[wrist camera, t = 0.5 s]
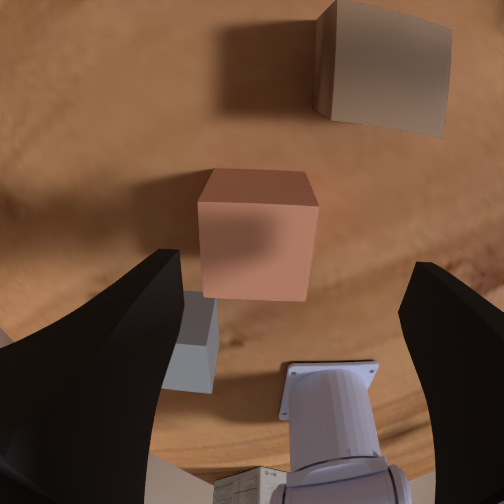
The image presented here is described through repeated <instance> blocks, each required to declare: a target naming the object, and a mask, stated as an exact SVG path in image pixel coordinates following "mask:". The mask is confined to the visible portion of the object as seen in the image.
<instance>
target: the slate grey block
mask: <svg viewBox="0 0 504 504" xmlns="http://www.w3.org/2000/svg"><path fill="white" fill-rule="evenodd" d="M183 293H184V302H185V307H184V312H183V317H182V322H181V327H180V332H179V336H178V339H177V342H176V345H175V348H174V351H173V354H172V357H171V360H170V363H169V366H168V369H167V372H166V375H165V378H164V381H163V385H162V388H163V389H171V390H179V391H189V392H198V393H210V394H212V390H213V382H214V375H215V368H216V361H217V355H218V348H219V329H218V312H217V298H207V297H204V296H203V292H196V291H183Z"/></svg>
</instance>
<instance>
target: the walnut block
mask: <svg viewBox="0 0 504 504" xmlns="http://www.w3.org/2000/svg"><path fill="white" fill-rule="evenodd" d="M451 42H452V30H451V29H449V28H446V27H443V26H441V25H438V24H435V23H432V22H429V21H426V20H423V19H420V18H417V17H414V16H410V15H407V14H404V13H400V12H396V11H393V10H389V9H385V8H381V7H377V6H372V5H368V4H363V3H358V2H353V1H348V0H335V1H334V2H333V3H332V4H331V5H330V6H329V7H328V8H327V9H326V10H325V11H324V12H323V13H322V14H321V16H320V17H319V18H318V19H317V20H316V39H315V62H314V82H313V99H312V109H314V110H315V111H317V112H319V113H320V114H322V115H323V116H325V117H326V118H328V119H330V120H331V121H340V122H349V123H356V124H364V125H371V126H377V127H384V128H390V129H396V130H401V131H407V132H412V133H417V134H422V135H427V136H431V137H436V138H440V139H442V137H443V131H444V124H445V116H446V109H447V100H448V90H449V79H450V65H451Z"/></svg>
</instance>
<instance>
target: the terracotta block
mask: <svg viewBox="0 0 504 504" xmlns="http://www.w3.org/2000/svg"><path fill="white" fill-rule="evenodd" d="M197 203H198V223H199V240H200V256H201V270H202V284H203V296H204V297H207V298H225V299H247V300H273V301H306V296H307V290H308V283H309V277H310V271H311V264H312V257H313V250H314V243H315V236H316V229H317V221H318V213H319V204H318V202H317V200H316V197H315V195H314V192H313V190H312V187H311V185H310V183H309V180H308V178H307V175H306V173H305V172H296V171H279V170H255V169H214V170H213V172H212V174H211V176H210V178H209V180H208V182H207V184H206V186H205V188H204V190H203V192H202V194H201V196H200V198H199V200H198V202H197Z"/></svg>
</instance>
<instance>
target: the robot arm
mask: <svg viewBox="0 0 504 504" xmlns="http://www.w3.org/2000/svg"><path fill="white" fill-rule="evenodd" d="M184 307H185V302H184V293H183V283H182V274H181V263H180V253H179V250H174V249H158V250H157V251H155V252H154V253H152V254H151V255H150V256H148V257H147V258H146V259H144V260H143V261H142V262H141V263H139V264H138V265H137V266H135V267H134V268H133V269H132V270H130V271H129V272H128V273H126V274H125V275H124V276H123V277H121V278H120V279H119V280H117V281H116V282H115V283H113V284H112V285H111V286H109V287H108V288H106V289H105V290H104V291H102V292H101V293H99V294H98V295H97V296H95V297H94V298H93V299H91V300H90V301H88V302H87V303H85V304H84V305H82V306H81V307H79V308H78V309H76V310H75V311H73V312H71V313H70V314H68V315H66V316H65V317H63V318H61V319H60V320H58V321H56V322H54V323H53V324H51V325H49V326H47V327H45V328H43V329H41V330H39V331H37V332H35V333H33V334H31V335H29V336H27V337H25V338H23V339H21V340H19V341H17V342H14V343H12V344H10V345H8V346H5V347H2V348H0V504H144V494H145V493H144V492H145V481H146V471H147V461H148V454H149V447H150V440H151V433H152V427H153V422H154V416H155V411H156V406H157V402H158V398H159V394H160V391H161V388H162V385H163V381H164V378H165V375H166V372H167V369H168V366H169V363H170V360H171V357H172V354H173V351H174V348H175V345H176V342H177V339H178V336H179V332H180V327H181V322H182V317H183V312H184ZM398 314H399V319H400V323H401V328H402V332H403V335H404V339H405V342H406V345H407V347H408V350H409V353H410V355H411V358H412V361H413V364H414V366H415V369H416V372H417V374H418V377H419V380H420V383H421V386H422V388H423V391H424V394H425V398H426V401H427V405H428V410H429V415H430V420H431V426H432V432H433V441H434V450H435V467H436V490H435V504H504V312H502V311H501V310H500V309H498V308H497V307H495V306H494V305H493V304H491V303H490V302H488V301H487V300H486V299H484V298H483V297H482V296H480V295H479V294H478V293H476V292H475V291H474V290H472V289H471V288H470V287H468V286H467V285H466V284H464V283H463V282H462V281H460V280H459V279H457V278H456V277H455V276H453V275H452V274H450V273H449V272H447V271H446V270H444V269H443V268H441V267H439V266H438V265H436V264H434V263H432V262H416V264H415V267H414V270H413V273H412V276H411V279H410V281H409V284H408V287H407V290H406V292H405V295H404V298H403V300H402V303H401V306H400V308H399V311H398ZM378 367H379V364H378V362H377V361H367V362H343V363H292V364H290V365H289V366H288V370H287V375H286V381H285V386H284V391H283V397H282V402H281V407H280V412H279V419H280V420H289V442H290V466H291V473H287V474H286V484H279V485H278V487H277V488H276V489H275V490H274V491H273V493H272V495H271V498H270V504H412V500H411V493H410V487H409V483H408V480H407V477H406V474H405V472H404V471H403V470H402V469H401V468H399V467H398V466H397V465H395V464H392V465H389V466H387V461H386V456H382V457H381V452H380V447H379V442H378V437H377V432H376V428H375V423H374V418H373V414H372V409H371V405H370V401H369V396H368V392H367V390H368V388H369V386H370V384H371V382H372V380H373V378H374V376H375V374H376V372H377V370H378Z"/></svg>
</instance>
